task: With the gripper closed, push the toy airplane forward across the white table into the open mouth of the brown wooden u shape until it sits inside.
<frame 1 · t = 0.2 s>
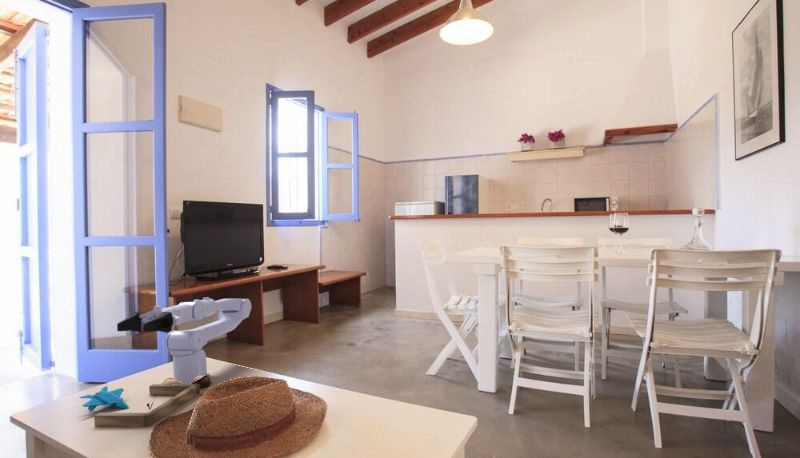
hand: (131, 327, 102), 22 cm above the table, tool horizontal, fingers open, 7 cm apart
brown wooden u shape: (149, 407, 103), on the table
toy airplane: (106, 409, 104), on the table
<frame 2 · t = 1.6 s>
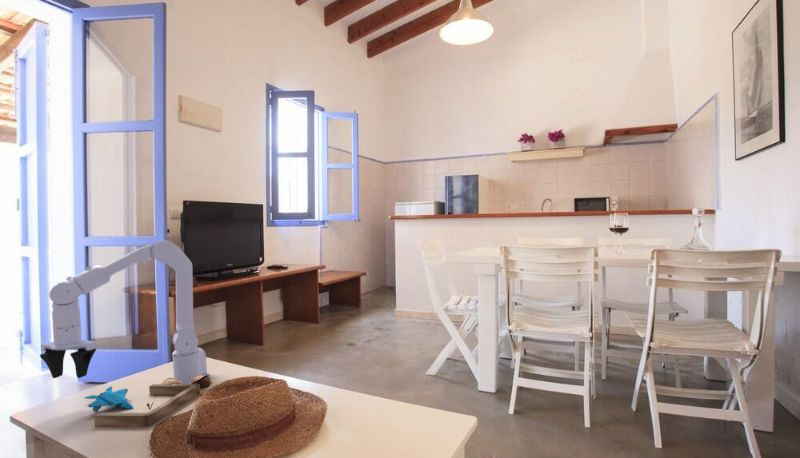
hand: (69, 376, 106), 8 cm above the table, tool pointing down, fingers open, 7 cm apart
toy airplane: (111, 409, 104), on the table
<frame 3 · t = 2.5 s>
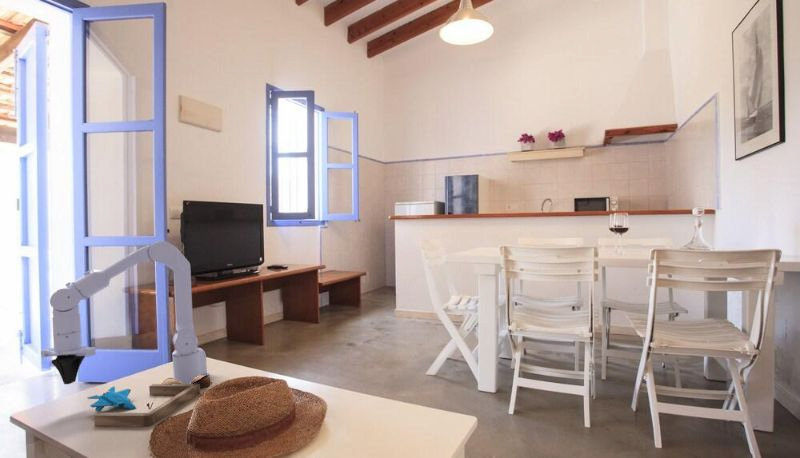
hand: (69, 382, 106), 7 cm above the table, tool pointing down, fingers closed
nothing on the table moved.
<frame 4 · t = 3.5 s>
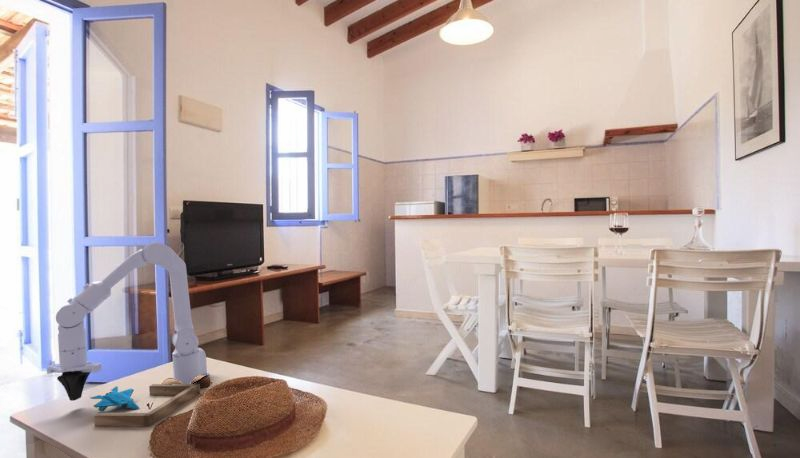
hand: (75, 399, 106), 2 cm above the table, tool pointing down, fingers closed
toy airplane: (116, 409, 104), on the table
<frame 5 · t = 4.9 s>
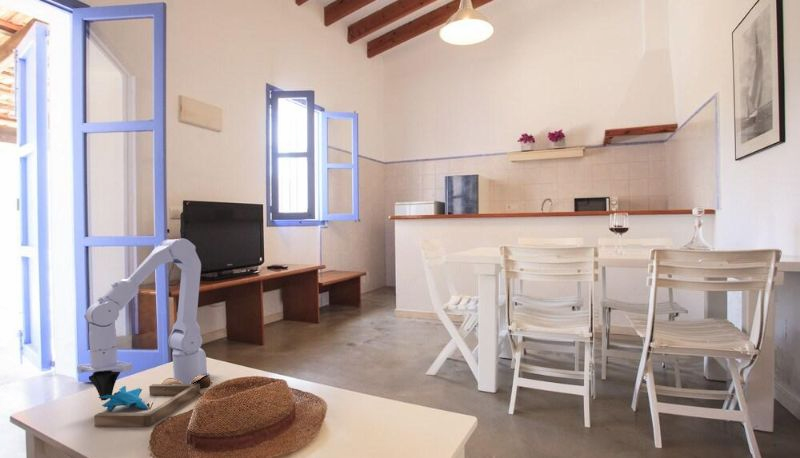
hand: (106, 398, 105), 2 cm above the table, tool pointing down, fingers closed
toy airplane: (125, 409, 103), on the table, touching gripper
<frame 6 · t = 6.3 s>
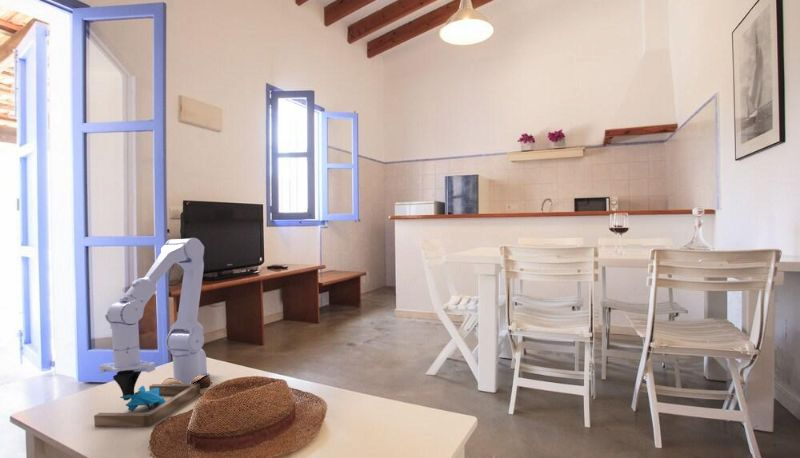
hand: (129, 398, 104), 2 cm above the table, tool pointing down, fingers closed
toy airplane: (146, 409, 103), on the table, touching brown wooden u shape, gripper
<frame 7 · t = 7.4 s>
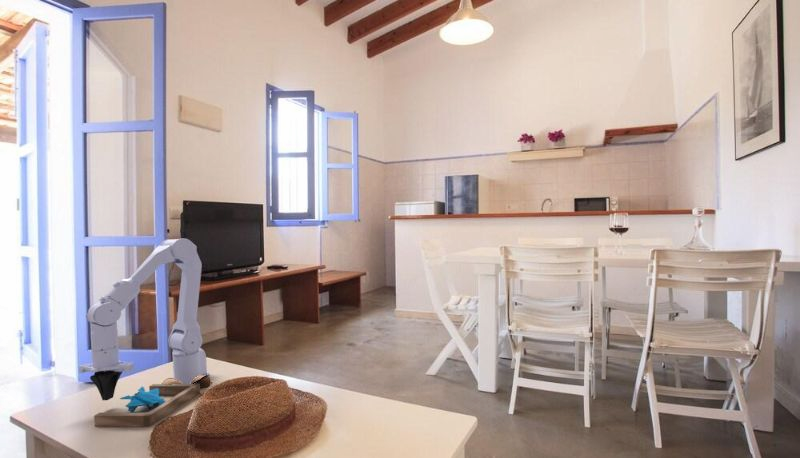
hand: (107, 398, 104), 2 cm above the table, tool pointing down, fingers closed
toy airplane: (146, 409, 103), on the table
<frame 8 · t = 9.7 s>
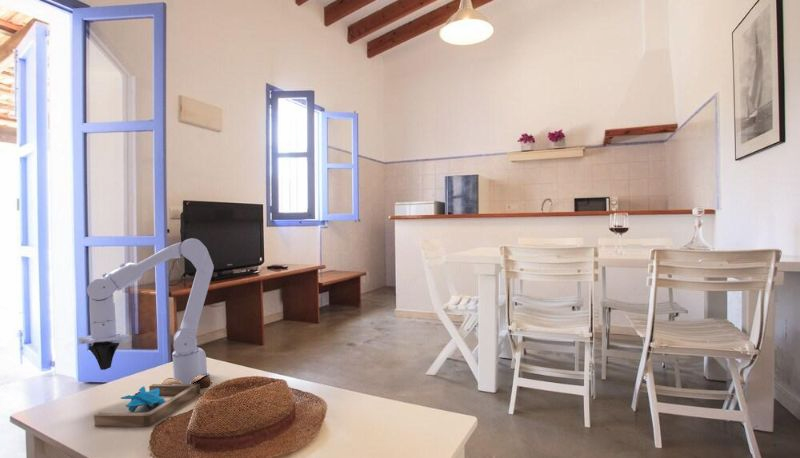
hand: (105, 368, 111), 8 cm above the table, tool pointing down, fingers closed
toy airplane: (147, 409, 103), on the table, touching brown wooden u shape
at the end: toy airplane inside the target area on the brown wooden u shape (1.9 cm from its centre), point 0.0 cm above the brown wooden u shape's base; toy airplane moved 12.6 cm from its start; the gripper is holding nothing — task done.
